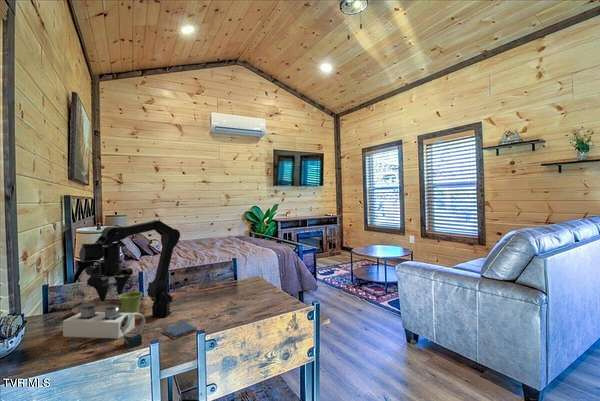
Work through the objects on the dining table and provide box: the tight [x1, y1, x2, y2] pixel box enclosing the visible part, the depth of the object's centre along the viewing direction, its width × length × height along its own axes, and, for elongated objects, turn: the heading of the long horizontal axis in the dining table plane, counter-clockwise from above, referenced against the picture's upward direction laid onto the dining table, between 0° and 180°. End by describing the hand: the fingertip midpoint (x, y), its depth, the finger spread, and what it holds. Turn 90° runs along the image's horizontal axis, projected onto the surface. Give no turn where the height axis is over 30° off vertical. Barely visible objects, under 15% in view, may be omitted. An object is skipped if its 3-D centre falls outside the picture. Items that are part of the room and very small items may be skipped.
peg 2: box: [105, 305, 120, 320], centre depth 121 cm, size 5×5×6 cm
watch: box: [120, 312, 146, 350], centre depth 111 cm, size 6×8×11 cm
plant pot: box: [118, 291, 143, 313], centre depth 141 cm, size 9×9×9 cm
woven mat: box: [161, 321, 199, 340], centre depth 122 cm, size 10×11×2 cm
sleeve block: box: [62, 312, 136, 340], centre depth 121 cm, size 22×10×6 cm, turn 87°
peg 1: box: [81, 304, 95, 319], centre depth 122 cm, size 5×5×6 cm
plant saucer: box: [71, 298, 122, 315], centre depth 143 cm, size 21×21×3 cm
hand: (111, 297), depth 123 cm, fingers open, 9 cm apart
